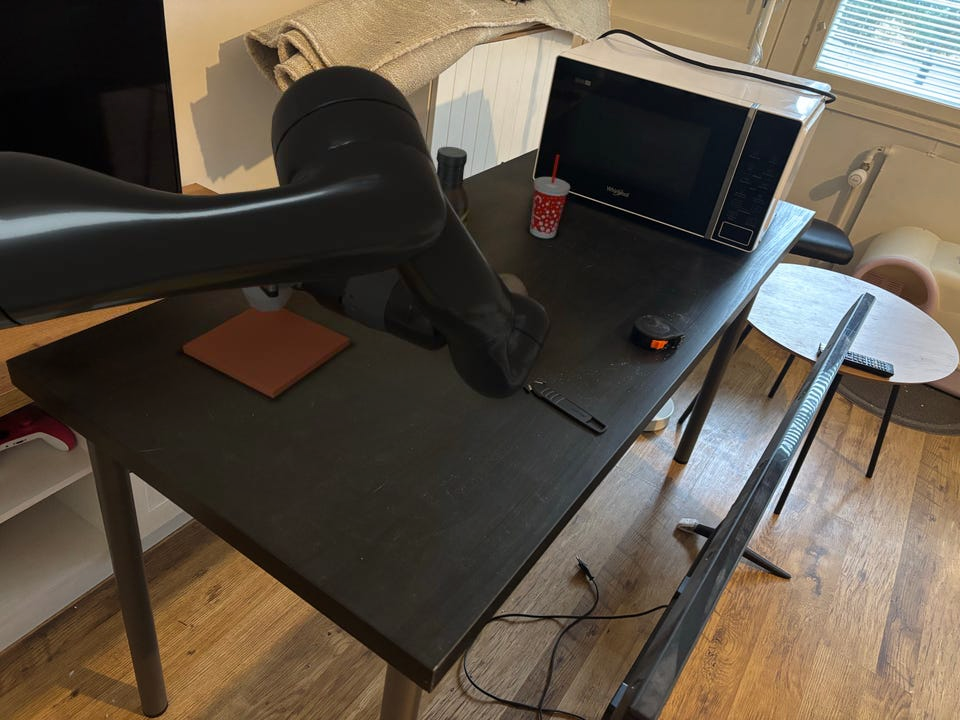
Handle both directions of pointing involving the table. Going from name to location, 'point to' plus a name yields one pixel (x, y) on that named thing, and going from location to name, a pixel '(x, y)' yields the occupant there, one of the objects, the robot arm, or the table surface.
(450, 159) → the sauce bottle
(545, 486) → the table surface
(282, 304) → the salt shaker
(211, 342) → the mat
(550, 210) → the beverage cup
